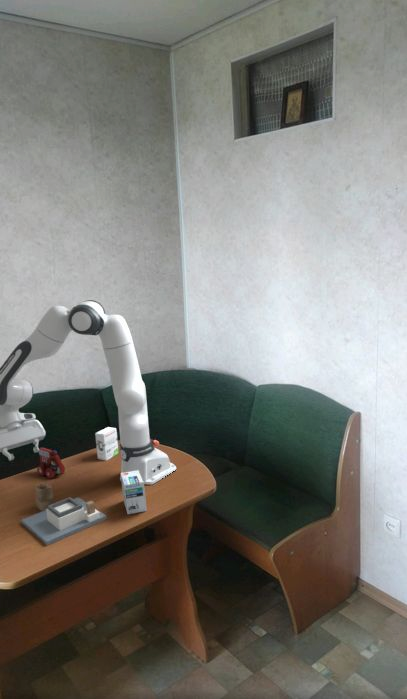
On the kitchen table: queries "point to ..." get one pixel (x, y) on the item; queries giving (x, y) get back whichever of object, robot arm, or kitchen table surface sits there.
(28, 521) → the build plate
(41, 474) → the toy fire truck
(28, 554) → the kitchen table surface
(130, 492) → the light bulb box
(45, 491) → the walnut block
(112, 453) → the ink box
